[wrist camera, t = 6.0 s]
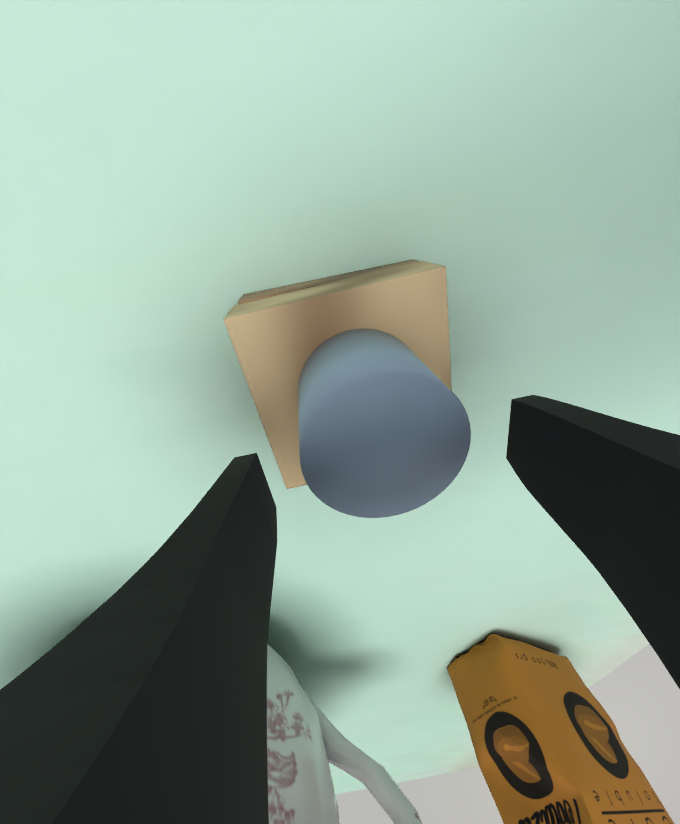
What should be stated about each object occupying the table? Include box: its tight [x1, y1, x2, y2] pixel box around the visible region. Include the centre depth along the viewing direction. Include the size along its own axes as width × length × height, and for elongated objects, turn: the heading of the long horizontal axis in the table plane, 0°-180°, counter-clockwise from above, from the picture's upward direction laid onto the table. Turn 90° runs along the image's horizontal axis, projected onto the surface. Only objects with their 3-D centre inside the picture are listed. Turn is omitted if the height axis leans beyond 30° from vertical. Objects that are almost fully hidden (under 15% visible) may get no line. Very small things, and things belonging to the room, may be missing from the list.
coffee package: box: [447, 634, 674, 824], centre depth 26 cm, size 10×12×22 cm
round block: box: [298, 328, 471, 518], centre depth 12 cm, size 5×5×4 cm
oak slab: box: [223, 261, 452, 489], centre depth 15 cm, size 8×8×2 cm
